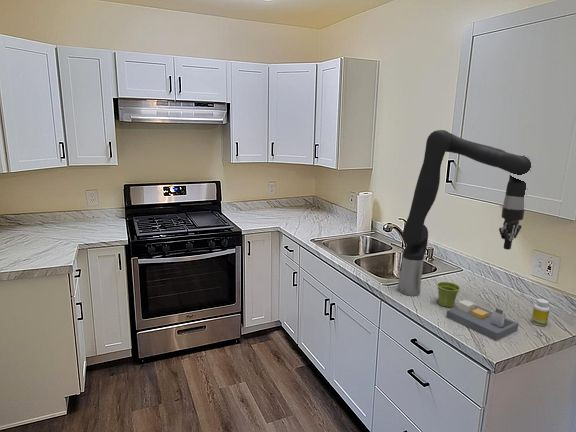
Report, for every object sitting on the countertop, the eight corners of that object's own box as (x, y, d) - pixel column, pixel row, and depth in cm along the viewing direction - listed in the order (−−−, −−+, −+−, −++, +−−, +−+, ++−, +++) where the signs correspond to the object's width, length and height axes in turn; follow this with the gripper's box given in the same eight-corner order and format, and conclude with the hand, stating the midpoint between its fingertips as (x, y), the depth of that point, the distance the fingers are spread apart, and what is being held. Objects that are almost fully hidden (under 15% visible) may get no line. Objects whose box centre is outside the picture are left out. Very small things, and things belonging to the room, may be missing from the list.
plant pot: (462, 306, 172) (465, 288, 170) (447, 310, 167) (449, 292, 165) (445, 298, 180) (447, 280, 178) (430, 302, 175) (432, 283, 173)
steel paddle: (490, 322, 151) (493, 308, 150) (492, 321, 152) (495, 307, 151) (501, 327, 148) (503, 312, 146) (503, 326, 149) (505, 311, 147)
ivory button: (457, 310, 163) (458, 302, 162) (463, 308, 165) (465, 299, 165) (467, 315, 159) (468, 306, 158) (473, 312, 162) (475, 303, 161)
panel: (446, 317, 162) (447, 310, 161) (467, 308, 170) (468, 302, 169) (496, 340, 145) (497, 333, 144) (517, 330, 153) (518, 322, 152)
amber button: (470, 319, 159) (471, 310, 158) (476, 317, 161) (478, 308, 160) (480, 324, 155) (482, 315, 154) (487, 321, 157) (488, 312, 156)
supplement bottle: (547, 327, 155) (552, 304, 153) (532, 324, 157) (536, 302, 155) (544, 321, 160) (549, 299, 158) (529, 318, 162) (533, 296, 160)
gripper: (513, 203, 161) (506, 244, 165) (495, 206, 154) (488, 248, 158) (532, 207, 155) (525, 249, 159) (514, 210, 148) (507, 254, 152)
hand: (507, 248), depth 158 cm, fingers closed
